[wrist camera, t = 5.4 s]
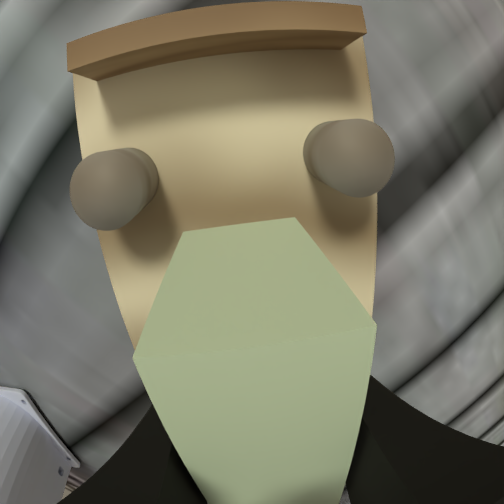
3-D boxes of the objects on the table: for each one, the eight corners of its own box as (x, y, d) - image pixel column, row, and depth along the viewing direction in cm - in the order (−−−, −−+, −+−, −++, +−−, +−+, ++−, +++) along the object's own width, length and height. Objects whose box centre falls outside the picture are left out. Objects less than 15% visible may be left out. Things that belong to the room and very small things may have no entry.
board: (358, 352, 16) (382, 397, 12) (157, 379, 15) (146, 430, 12) (348, 26, 10) (386, -3, 7) (84, 60, 10) (41, 41, 6)
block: (302, 396, 13) (335, 515, 7) (223, 407, 13) (227, 529, 7) (295, 217, 10) (376, 325, 4) (182, 231, 10) (132, 358, 4)
